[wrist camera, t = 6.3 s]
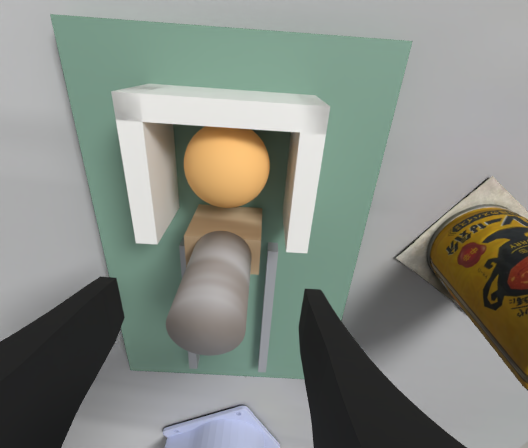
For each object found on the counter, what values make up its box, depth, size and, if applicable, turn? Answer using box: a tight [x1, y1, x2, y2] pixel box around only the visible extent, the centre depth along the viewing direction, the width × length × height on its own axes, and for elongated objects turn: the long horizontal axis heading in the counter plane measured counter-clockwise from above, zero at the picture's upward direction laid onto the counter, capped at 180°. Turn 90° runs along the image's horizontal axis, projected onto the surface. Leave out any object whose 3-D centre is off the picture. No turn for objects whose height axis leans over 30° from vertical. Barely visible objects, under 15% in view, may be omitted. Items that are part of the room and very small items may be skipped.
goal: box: [111, 84, 330, 253], centre depth 14 cm, size 6×8×4 cm
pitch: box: [50, 14, 412, 379], centre depth 19 cm, size 24×16×2 cm, turn 176°
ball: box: [184, 126, 270, 208], centre depth 14 cm, size 4×4×4 cm
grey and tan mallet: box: [166, 204, 262, 356], centre depth 14 cm, size 3×4×8 cm
